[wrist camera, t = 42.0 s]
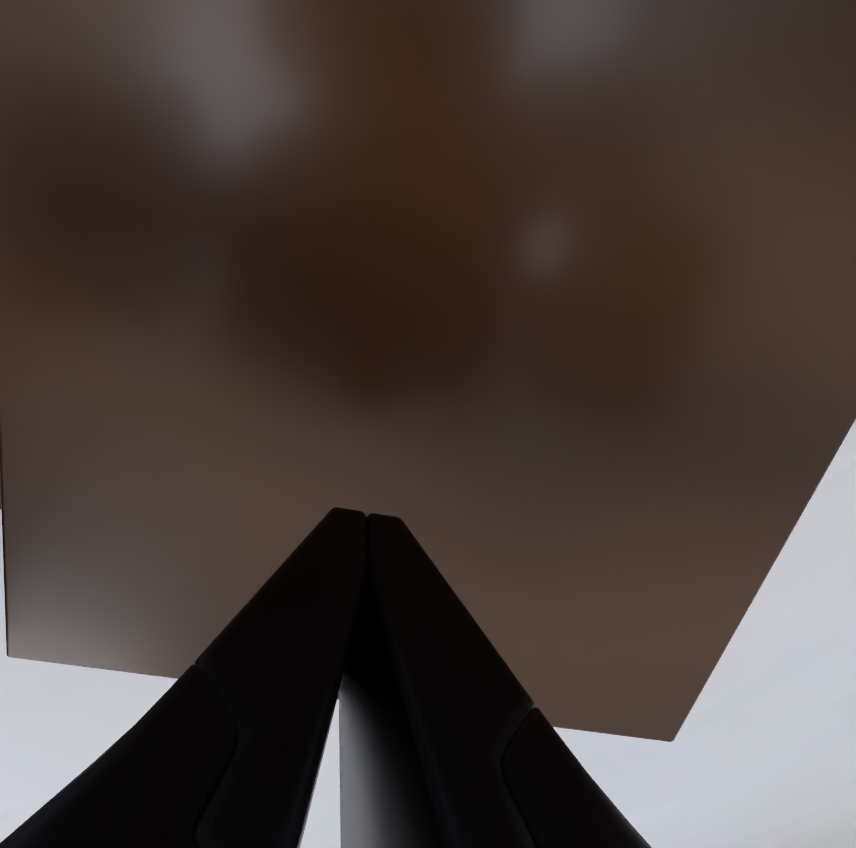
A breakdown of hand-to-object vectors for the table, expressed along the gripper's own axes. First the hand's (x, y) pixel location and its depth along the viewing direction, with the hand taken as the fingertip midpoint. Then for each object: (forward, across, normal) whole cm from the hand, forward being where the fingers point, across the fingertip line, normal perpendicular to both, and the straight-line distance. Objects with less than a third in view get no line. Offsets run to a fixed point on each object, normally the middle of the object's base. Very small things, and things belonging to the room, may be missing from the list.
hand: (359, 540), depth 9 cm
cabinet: (+13, -1, -2) cm, 13 cm away
